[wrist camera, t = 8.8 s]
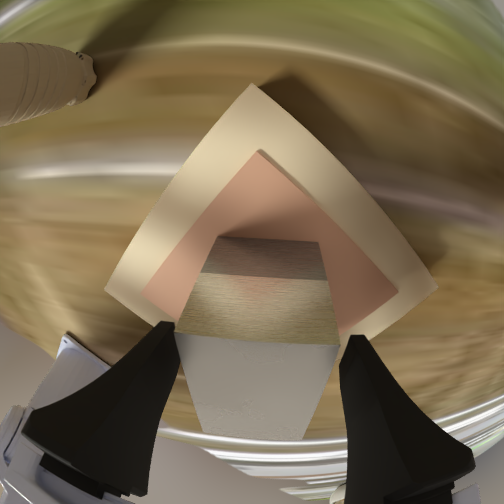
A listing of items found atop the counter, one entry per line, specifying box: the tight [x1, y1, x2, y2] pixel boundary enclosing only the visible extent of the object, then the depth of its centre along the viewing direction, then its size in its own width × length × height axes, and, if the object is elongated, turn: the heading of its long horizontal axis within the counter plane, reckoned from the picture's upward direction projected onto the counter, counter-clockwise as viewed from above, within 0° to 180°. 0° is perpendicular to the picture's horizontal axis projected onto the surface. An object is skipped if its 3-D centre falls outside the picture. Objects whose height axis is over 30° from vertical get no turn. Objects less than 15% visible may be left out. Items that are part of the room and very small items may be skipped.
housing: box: [174, 236, 341, 440], centre depth 11 cm, size 4×7×6 cm, turn 179°
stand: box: [104, 83, 439, 361], centre depth 15 cm, size 14×14×2 cm
